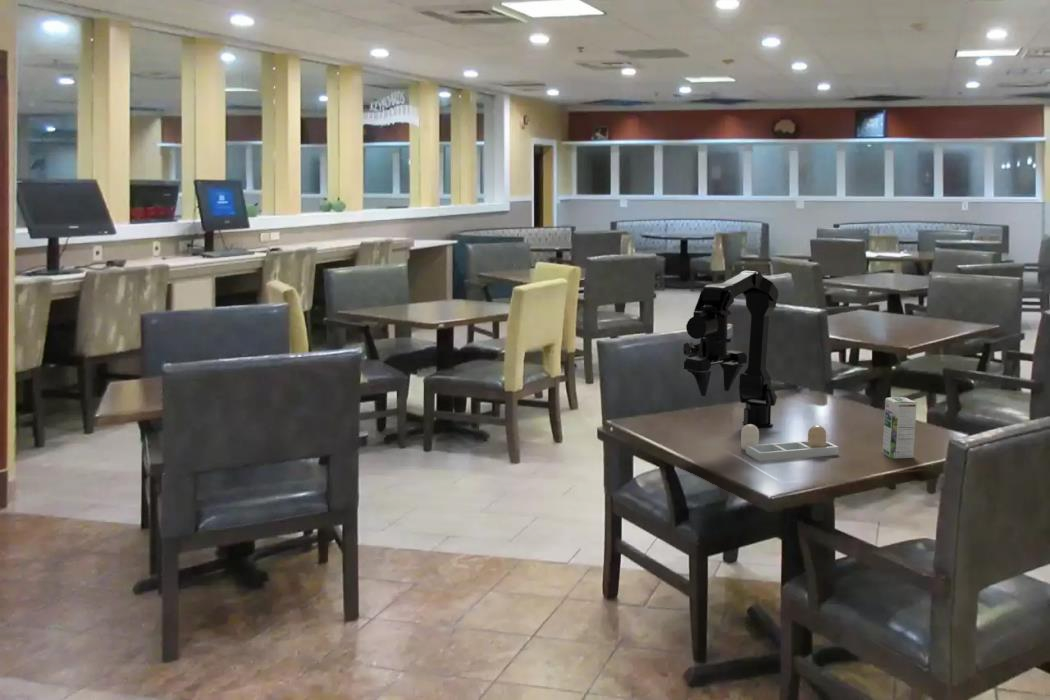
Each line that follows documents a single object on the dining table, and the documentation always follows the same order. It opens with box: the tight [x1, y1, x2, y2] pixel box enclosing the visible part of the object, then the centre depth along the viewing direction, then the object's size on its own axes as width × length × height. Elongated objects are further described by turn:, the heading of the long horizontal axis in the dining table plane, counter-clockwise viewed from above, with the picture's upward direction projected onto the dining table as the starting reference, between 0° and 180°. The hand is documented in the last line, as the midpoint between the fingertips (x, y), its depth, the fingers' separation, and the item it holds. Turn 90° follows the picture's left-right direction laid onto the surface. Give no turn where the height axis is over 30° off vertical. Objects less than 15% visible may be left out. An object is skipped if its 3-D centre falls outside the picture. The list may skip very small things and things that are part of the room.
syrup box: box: [882, 396, 918, 459], centre depth 255 cm, size 6×6×14 cm
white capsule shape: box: [740, 424, 760, 451], centre depth 264 cm, size 4×4×7 cm
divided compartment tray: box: [745, 440, 840, 462], centre depth 258 cm, size 21×8×2 cm, turn 104°
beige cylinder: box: [807, 424, 827, 448], centre depth 259 cm, size 4×4×7 cm
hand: (715, 393), depth 270 cm, fingers open, 9 cm apart
